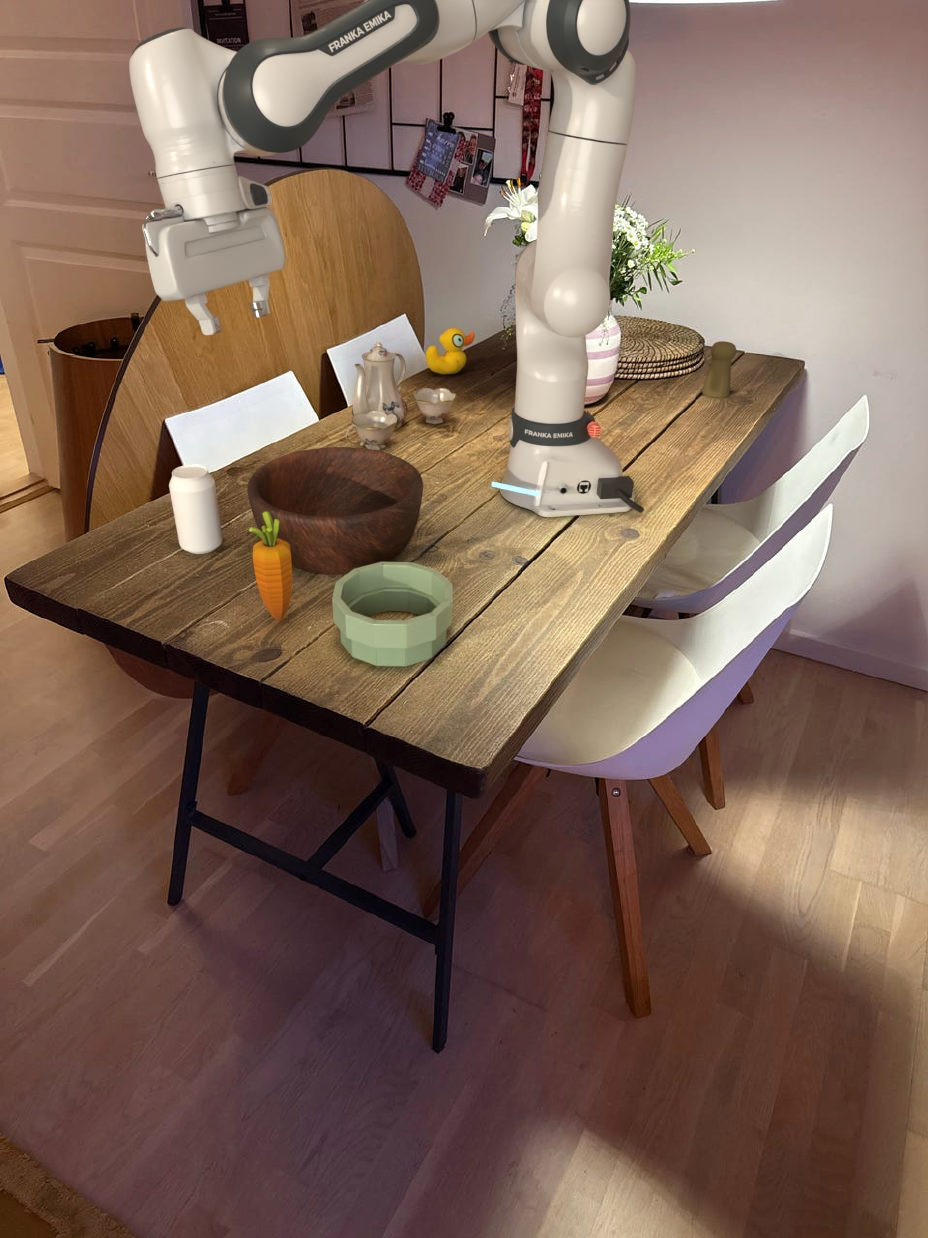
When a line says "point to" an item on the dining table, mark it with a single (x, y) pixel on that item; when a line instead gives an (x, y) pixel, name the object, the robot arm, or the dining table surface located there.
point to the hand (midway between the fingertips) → (238, 324)
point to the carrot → (273, 568)
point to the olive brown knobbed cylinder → (719, 370)
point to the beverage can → (195, 509)
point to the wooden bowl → (338, 506)
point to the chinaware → (389, 399)
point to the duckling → (449, 352)
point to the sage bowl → (393, 592)
